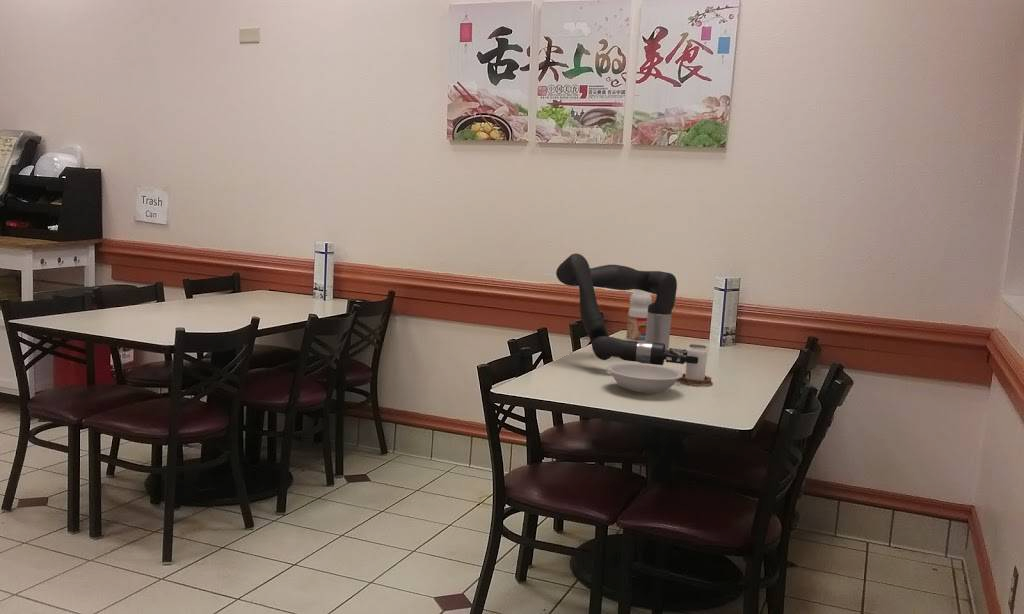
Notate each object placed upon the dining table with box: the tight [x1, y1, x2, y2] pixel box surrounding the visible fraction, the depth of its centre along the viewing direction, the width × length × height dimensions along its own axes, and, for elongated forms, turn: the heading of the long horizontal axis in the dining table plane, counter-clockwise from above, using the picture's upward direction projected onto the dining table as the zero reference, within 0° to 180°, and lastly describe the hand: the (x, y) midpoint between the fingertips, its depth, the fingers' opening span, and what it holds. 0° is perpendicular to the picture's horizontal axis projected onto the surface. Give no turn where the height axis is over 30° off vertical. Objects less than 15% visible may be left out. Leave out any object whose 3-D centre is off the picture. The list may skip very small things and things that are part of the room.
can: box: [684, 343, 708, 380], centre depth 284 cm, size 6×6×12 cm
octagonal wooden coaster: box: [676, 373, 714, 387], centre depth 285 cm, size 12×12×2 cm
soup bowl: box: [606, 362, 684, 394], centre depth 267 cm, size 24×24×7 cm
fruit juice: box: [625, 289, 653, 342], centre depth 351 cm, size 9×9×28 cm
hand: (698, 358), depth 284 cm, fingers open, 8 cm apart
